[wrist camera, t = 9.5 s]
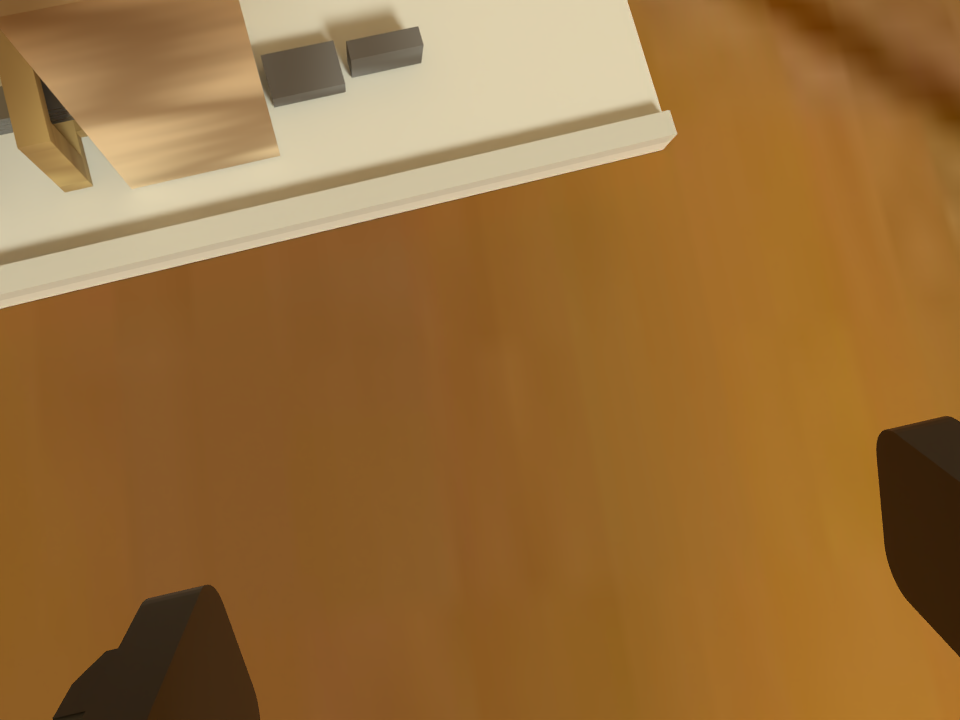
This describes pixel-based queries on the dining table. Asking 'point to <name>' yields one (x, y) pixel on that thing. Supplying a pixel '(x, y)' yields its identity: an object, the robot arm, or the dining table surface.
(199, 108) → the tall tan block
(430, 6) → the tie down bed
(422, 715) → the dining table surface
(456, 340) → the dining table surface
